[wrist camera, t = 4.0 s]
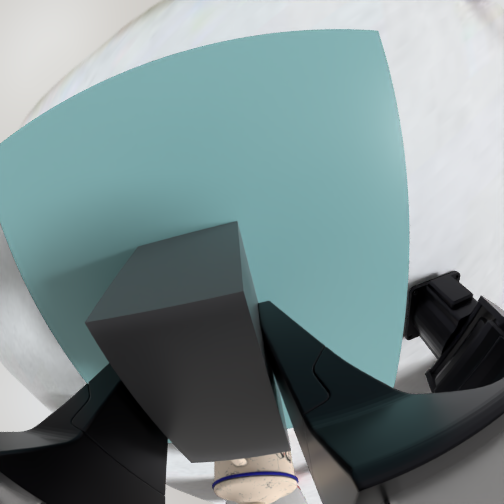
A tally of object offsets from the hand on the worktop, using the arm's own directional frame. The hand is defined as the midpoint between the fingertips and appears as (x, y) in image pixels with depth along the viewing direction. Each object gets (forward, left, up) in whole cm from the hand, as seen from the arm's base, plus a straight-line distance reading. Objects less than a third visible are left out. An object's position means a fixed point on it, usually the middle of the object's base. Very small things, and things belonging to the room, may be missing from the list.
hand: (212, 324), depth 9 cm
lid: (0, 0, -3) cm, 3 cm away
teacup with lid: (-24, +4, -12) cm, 27 cm away
